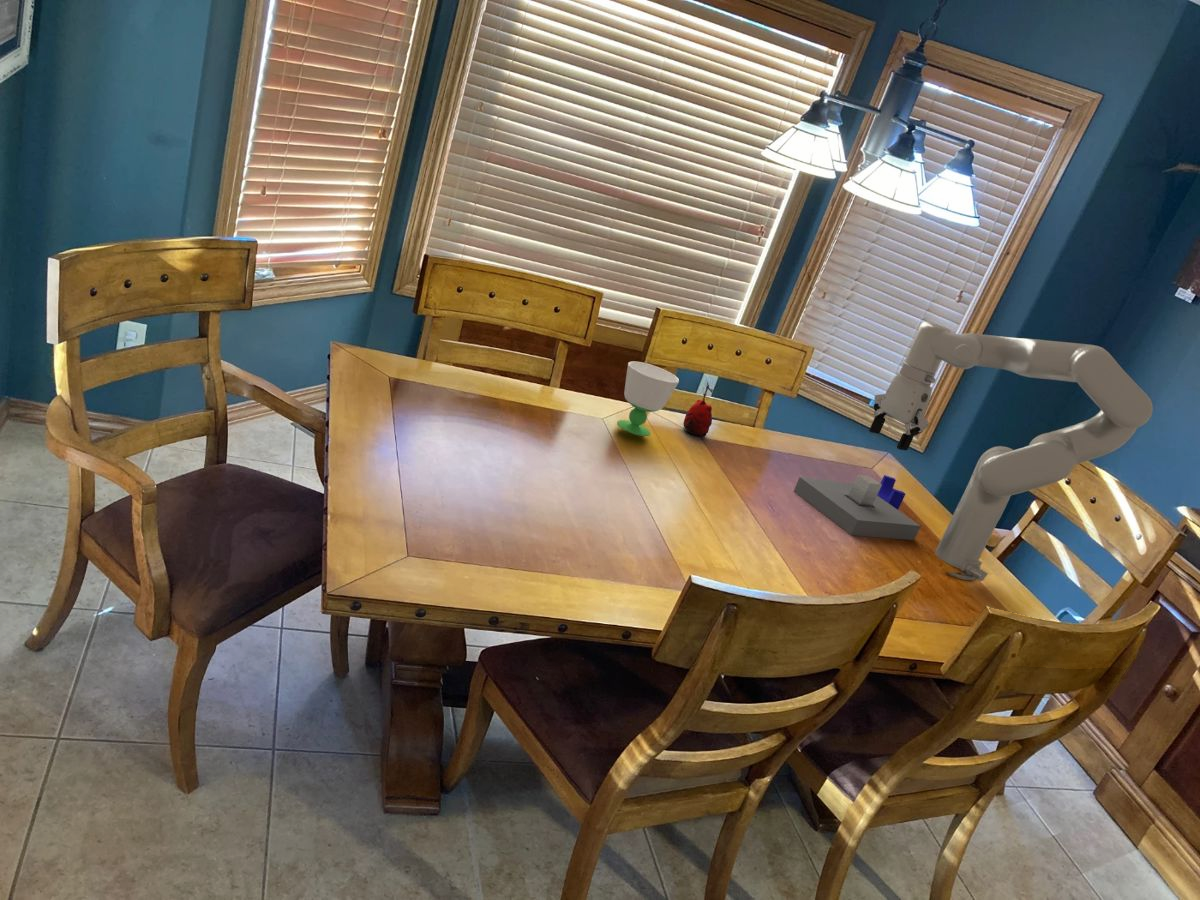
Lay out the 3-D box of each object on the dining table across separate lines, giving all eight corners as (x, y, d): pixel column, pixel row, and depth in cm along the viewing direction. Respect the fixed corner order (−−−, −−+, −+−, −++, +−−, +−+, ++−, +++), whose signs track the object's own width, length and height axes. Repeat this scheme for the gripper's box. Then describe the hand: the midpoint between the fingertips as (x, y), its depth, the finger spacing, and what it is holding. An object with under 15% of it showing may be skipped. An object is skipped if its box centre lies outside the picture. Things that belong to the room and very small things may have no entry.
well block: (914, 540, 231) (920, 525, 229) (850, 535, 219) (857, 520, 218) (855, 497, 248) (861, 484, 247) (793, 491, 236) (799, 476, 235)
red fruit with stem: (711, 437, 258) (730, 386, 253) (697, 438, 252) (716, 387, 248) (689, 425, 262) (708, 375, 257) (675, 426, 256) (694, 375, 252)
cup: (640, 420, 251) (659, 365, 246) (668, 442, 241) (690, 385, 236) (598, 415, 243) (618, 358, 238) (626, 437, 233) (647, 378, 228)
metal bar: (865, 520, 233) (881, 484, 230) (853, 519, 231) (869, 483, 227) (853, 511, 236) (869, 476, 233) (841, 510, 234) (857, 475, 231)
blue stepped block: (870, 492, 258) (879, 473, 256) (885, 497, 258) (894, 478, 256) (879, 509, 247) (889, 488, 245) (896, 514, 247) (905, 494, 245)
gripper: (954, 390, 217) (923, 457, 222) (901, 364, 230) (874, 428, 236) (932, 386, 213) (902, 454, 218) (880, 359, 226) (853, 424, 232)
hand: (887, 440), depth 227 cm, fingers open, 9 cm apart
